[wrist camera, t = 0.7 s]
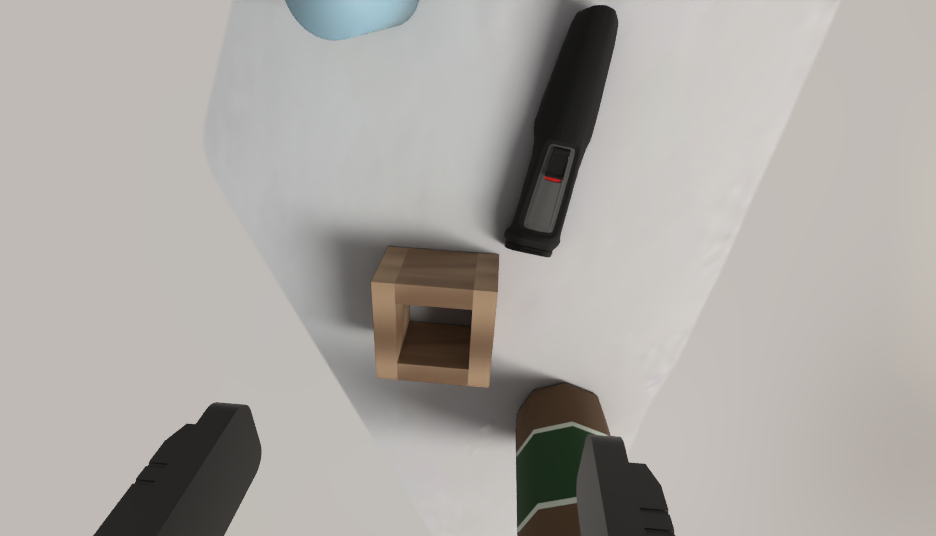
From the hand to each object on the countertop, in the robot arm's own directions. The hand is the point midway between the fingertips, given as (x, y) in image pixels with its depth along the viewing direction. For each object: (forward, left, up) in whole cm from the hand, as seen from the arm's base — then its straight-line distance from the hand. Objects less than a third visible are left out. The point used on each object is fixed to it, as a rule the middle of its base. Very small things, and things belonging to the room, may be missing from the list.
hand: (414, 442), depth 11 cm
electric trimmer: (-1, +5, -23) cm, 24 cm away
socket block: (+11, -2, -23) cm, 25 cm away
